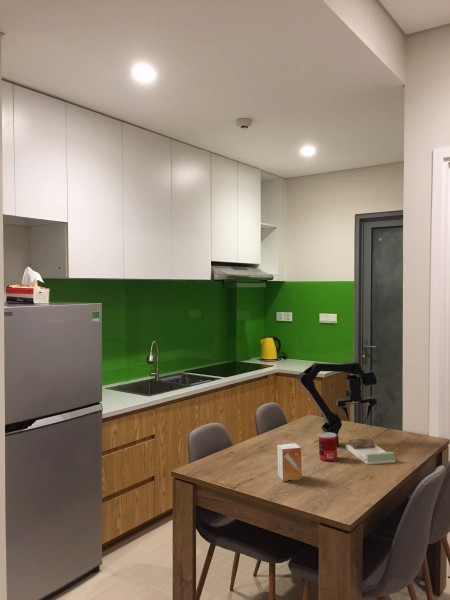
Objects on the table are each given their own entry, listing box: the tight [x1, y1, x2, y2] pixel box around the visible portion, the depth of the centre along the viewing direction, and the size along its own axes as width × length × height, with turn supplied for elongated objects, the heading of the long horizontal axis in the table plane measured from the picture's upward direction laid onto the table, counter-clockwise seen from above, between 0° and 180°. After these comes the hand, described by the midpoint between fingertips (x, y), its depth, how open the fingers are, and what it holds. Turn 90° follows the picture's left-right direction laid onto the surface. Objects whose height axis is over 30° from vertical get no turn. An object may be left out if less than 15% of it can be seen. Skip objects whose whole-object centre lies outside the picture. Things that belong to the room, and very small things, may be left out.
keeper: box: [348, 438, 375, 449], centre depth 238 cm, size 10×4×3 cm, turn 98°
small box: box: [276, 443, 303, 482], centre depth 203 cm, size 8×6×13 cm
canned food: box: [318, 431, 338, 463], centre depth 225 cm, size 8×8×11 cm
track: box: [345, 443, 396, 465], centre depth 230 cm, size 13×24×4 cm, turn 8°
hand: (357, 419), depth 247 cm, fingers open, 9 cm apart
